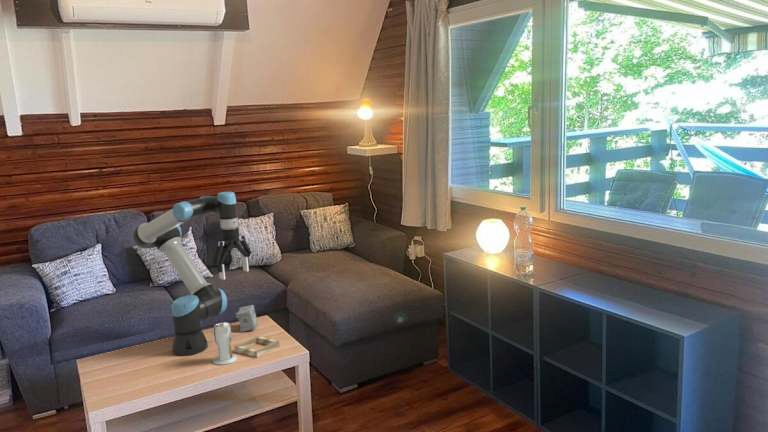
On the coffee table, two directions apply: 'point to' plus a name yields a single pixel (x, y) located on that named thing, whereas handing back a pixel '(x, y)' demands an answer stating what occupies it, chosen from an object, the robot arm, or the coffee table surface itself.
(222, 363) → the white glossy dome
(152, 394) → the coffee table surface
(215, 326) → the silver tall cylindrical piece
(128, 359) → the coffee table surface
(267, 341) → the frame
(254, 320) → the incense holder
